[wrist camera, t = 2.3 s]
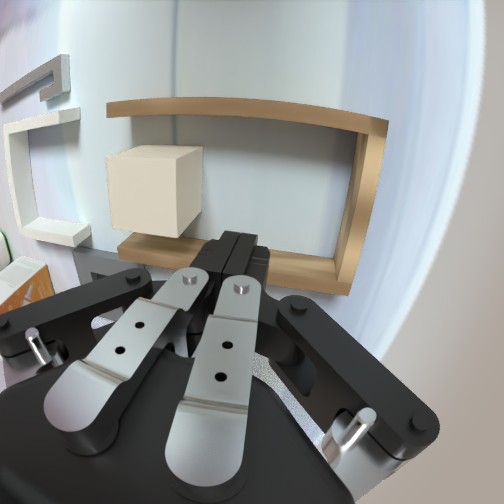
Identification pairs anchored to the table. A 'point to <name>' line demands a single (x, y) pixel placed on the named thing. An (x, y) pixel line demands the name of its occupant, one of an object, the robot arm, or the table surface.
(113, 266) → the hole frame
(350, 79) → the table surface
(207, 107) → the wooden u-shaped frame
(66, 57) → the crook tool
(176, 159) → the cream cube
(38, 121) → the cream bay
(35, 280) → the small box
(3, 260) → the white rounded prism
